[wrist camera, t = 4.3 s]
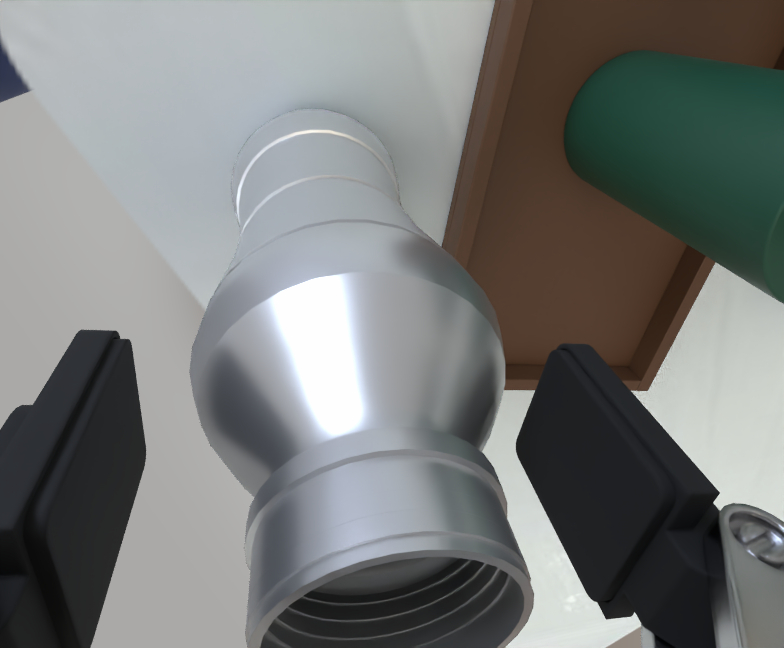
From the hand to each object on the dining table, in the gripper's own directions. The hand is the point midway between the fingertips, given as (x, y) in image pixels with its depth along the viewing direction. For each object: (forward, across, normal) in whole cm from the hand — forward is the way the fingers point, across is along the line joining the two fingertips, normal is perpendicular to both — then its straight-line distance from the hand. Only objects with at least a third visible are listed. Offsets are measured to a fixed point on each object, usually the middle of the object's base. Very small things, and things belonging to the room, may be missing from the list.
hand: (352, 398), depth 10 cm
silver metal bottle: (+16, 0, 0) cm, 16 cm away
